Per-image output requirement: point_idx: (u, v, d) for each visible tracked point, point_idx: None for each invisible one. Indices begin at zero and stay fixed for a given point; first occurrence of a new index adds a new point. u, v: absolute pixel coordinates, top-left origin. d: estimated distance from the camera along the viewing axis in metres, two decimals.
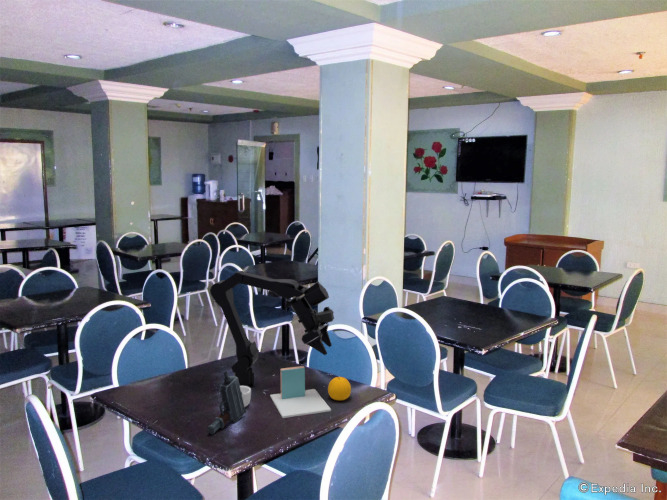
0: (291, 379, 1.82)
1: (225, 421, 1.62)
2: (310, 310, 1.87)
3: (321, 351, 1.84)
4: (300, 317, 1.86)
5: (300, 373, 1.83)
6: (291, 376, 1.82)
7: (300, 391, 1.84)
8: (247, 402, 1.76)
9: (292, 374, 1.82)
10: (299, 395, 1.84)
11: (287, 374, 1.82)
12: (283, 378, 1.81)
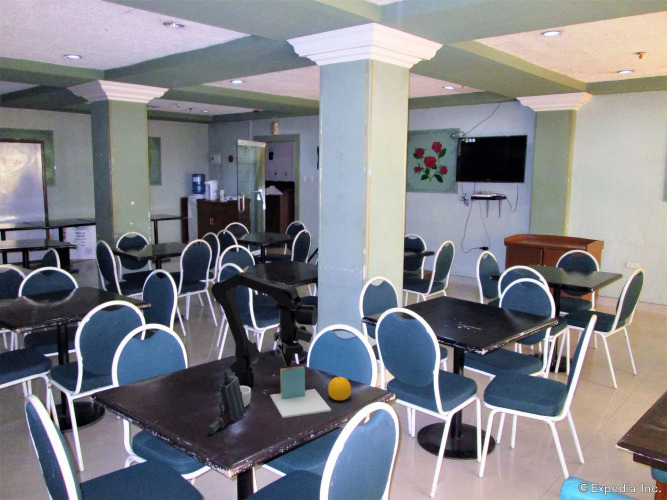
0: (291, 379, 1.82)
1: (225, 421, 1.62)
2: (295, 324, 1.87)
3: (287, 362, 1.88)
4: (285, 326, 1.84)
5: (300, 373, 1.83)
6: (291, 376, 1.82)
7: (300, 391, 1.84)
8: (247, 402, 1.76)
9: (292, 374, 1.82)
10: (299, 395, 1.84)
11: (287, 374, 1.82)
12: (283, 378, 1.81)
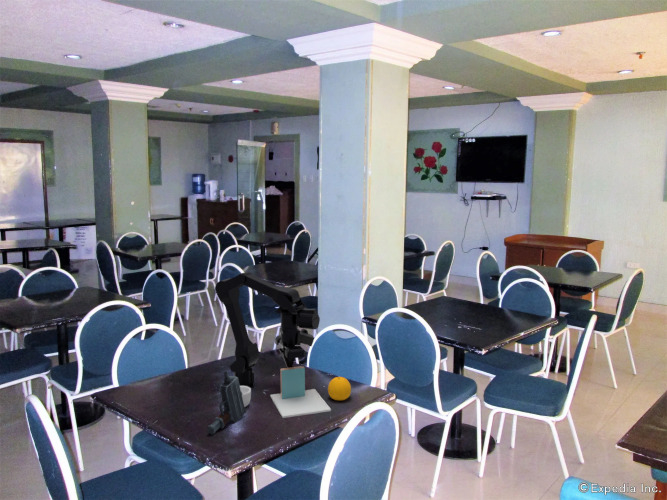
0: (291, 379, 1.82)
1: (225, 421, 1.62)
2: (297, 327, 1.85)
3: (288, 366, 1.86)
4: (287, 329, 1.83)
5: (300, 373, 1.83)
6: (291, 376, 1.82)
7: (300, 391, 1.84)
8: (247, 402, 1.76)
9: (292, 374, 1.82)
10: (299, 395, 1.84)
11: (287, 374, 1.82)
12: (283, 378, 1.81)
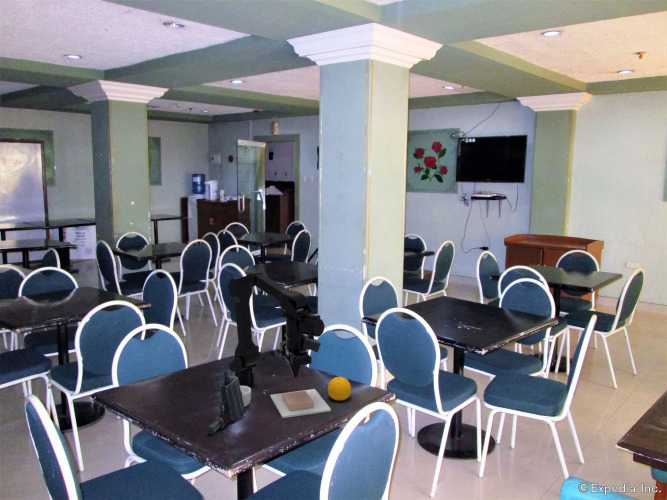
0: None
1: (225, 421, 1.62)
2: (303, 332, 1.78)
3: (294, 373, 1.79)
4: (292, 335, 1.76)
5: None
6: None
7: None
8: (247, 402, 1.76)
9: None
10: None
11: None
12: None
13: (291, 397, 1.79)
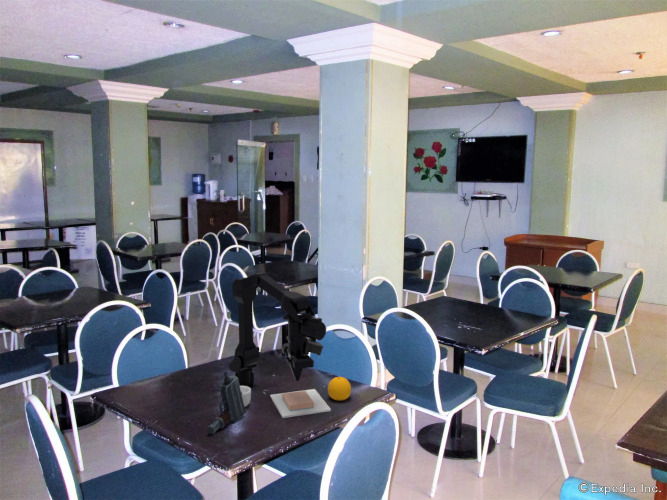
0: None
1: (225, 421, 1.62)
2: None
3: (296, 376, 1.77)
4: (294, 338, 1.73)
5: None
6: None
7: None
8: (247, 402, 1.76)
9: None
10: None
11: None
12: None
13: (291, 397, 1.79)
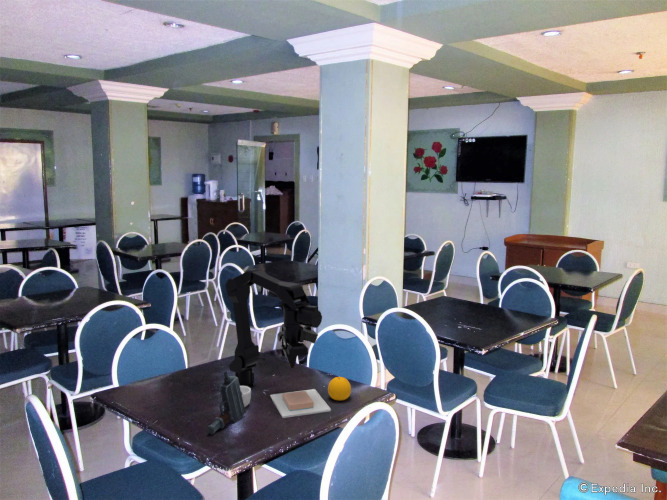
0: None
1: (225, 421, 1.62)
2: (300, 323, 1.79)
3: (291, 363, 1.80)
4: (289, 326, 1.76)
5: None
6: None
7: None
8: (247, 402, 1.76)
9: None
10: None
11: None
12: None
13: (291, 397, 1.79)
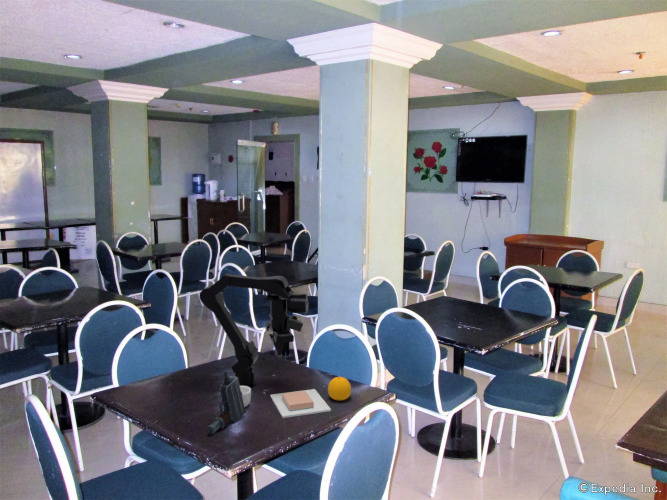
0: None
1: (225, 421, 1.62)
2: (286, 313, 1.90)
3: (278, 351, 1.91)
4: (276, 315, 1.88)
5: None
6: None
7: None
8: (247, 402, 1.76)
9: None
10: None
11: None
12: None
13: (291, 397, 1.79)
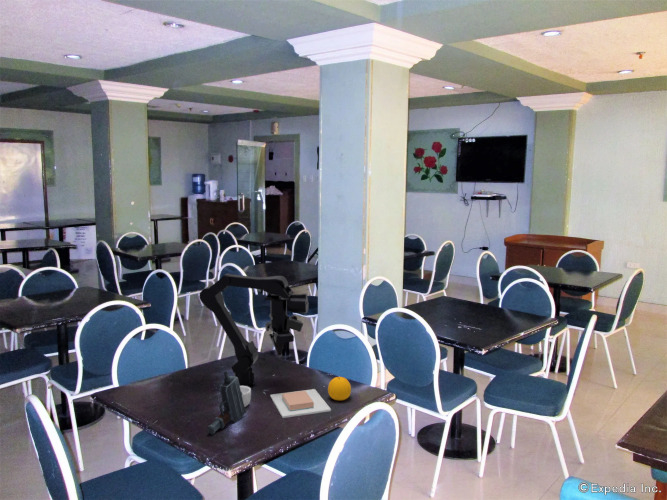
0: None
1: (225, 421, 1.62)
2: (286, 313, 1.90)
3: (278, 351, 1.91)
4: (276, 315, 1.88)
5: None
6: None
7: None
8: (247, 402, 1.76)
9: None
10: None
11: None
12: None
13: (291, 397, 1.79)
